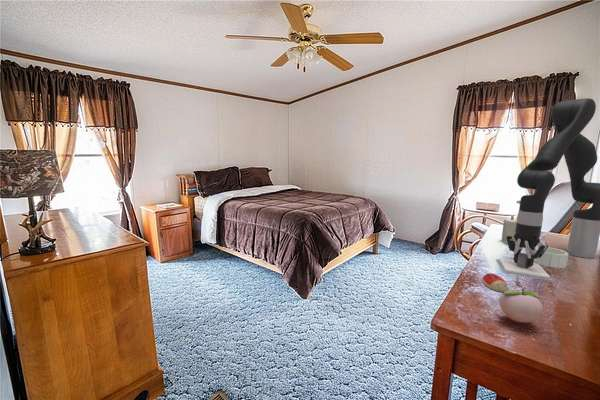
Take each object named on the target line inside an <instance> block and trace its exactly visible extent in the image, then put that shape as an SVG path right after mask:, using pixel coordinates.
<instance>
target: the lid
mask: <svg viewBox="0 0 600 400" xmlns="http://www.w3.org/2000/svg"><path fill="white" fill-rule="evenodd" d="M527 258H528V256H527V253H524V252H521V253H518V260H517V263H515V262H514V259H507V258H502V257H499V258H498V260H499V261H500V263H501V264H502V266H503V268H504V270H505V271H506V272H511V273H518V274H524V275H530V276H536V277H543V278H549V279H550V277H551V276H550V275H549V274H548V273H547V272H546V271H545V270H544V268H543V267H542V265H541V264H538V263H536V262H534V263H533V266H531V267H526V261H527Z"/></svg>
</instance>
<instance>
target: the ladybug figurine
mask: <svg viewBox="0 0 600 400" xmlns="http://www.w3.org/2000/svg"><path fill="white" fill-rule="evenodd" d="M481 281H482V283H483V285H484V286H486V287H487V288H489V289H491V290H493V291H496V292H499V293H500V292H501V293H504V292H505V291H508V290H509V286H508V284H507V282H506V281H505V280H504V278H503V277H501V276H499V274H498V275H497V274H496V273H491V272H490V273H486V274H485V275H483V276H482V278H481Z"/></svg>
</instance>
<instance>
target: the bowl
mask: <svg viewBox="0 0 600 400" xmlns="http://www.w3.org/2000/svg"><path fill="white" fill-rule="evenodd" d="M535 249H536V251H537V250H538V246H536V247H535ZM536 251H535V253H536ZM569 255H570V254H569V253H567V250H566V251H565V250H562V249H559V248H555V247H549V246H548V248H547V250H546V251H545V252H544V254H543V255H542V256H541V258H536V259H534V263H537V264H539V265H540V266H545V267H550V268H555V269H556V268H557V269H566V268H567V264H568V260H569Z"/></svg>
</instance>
